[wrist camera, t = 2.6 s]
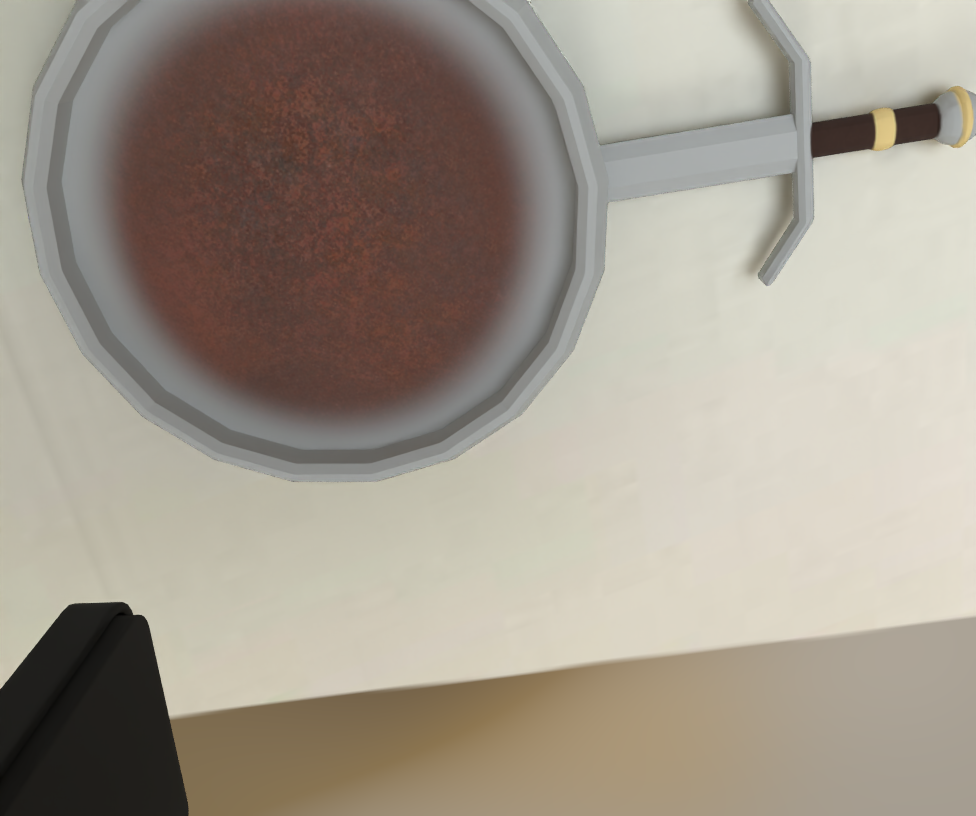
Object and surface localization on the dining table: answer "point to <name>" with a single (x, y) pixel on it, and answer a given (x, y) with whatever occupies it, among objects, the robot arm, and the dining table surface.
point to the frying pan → (359, 214)
